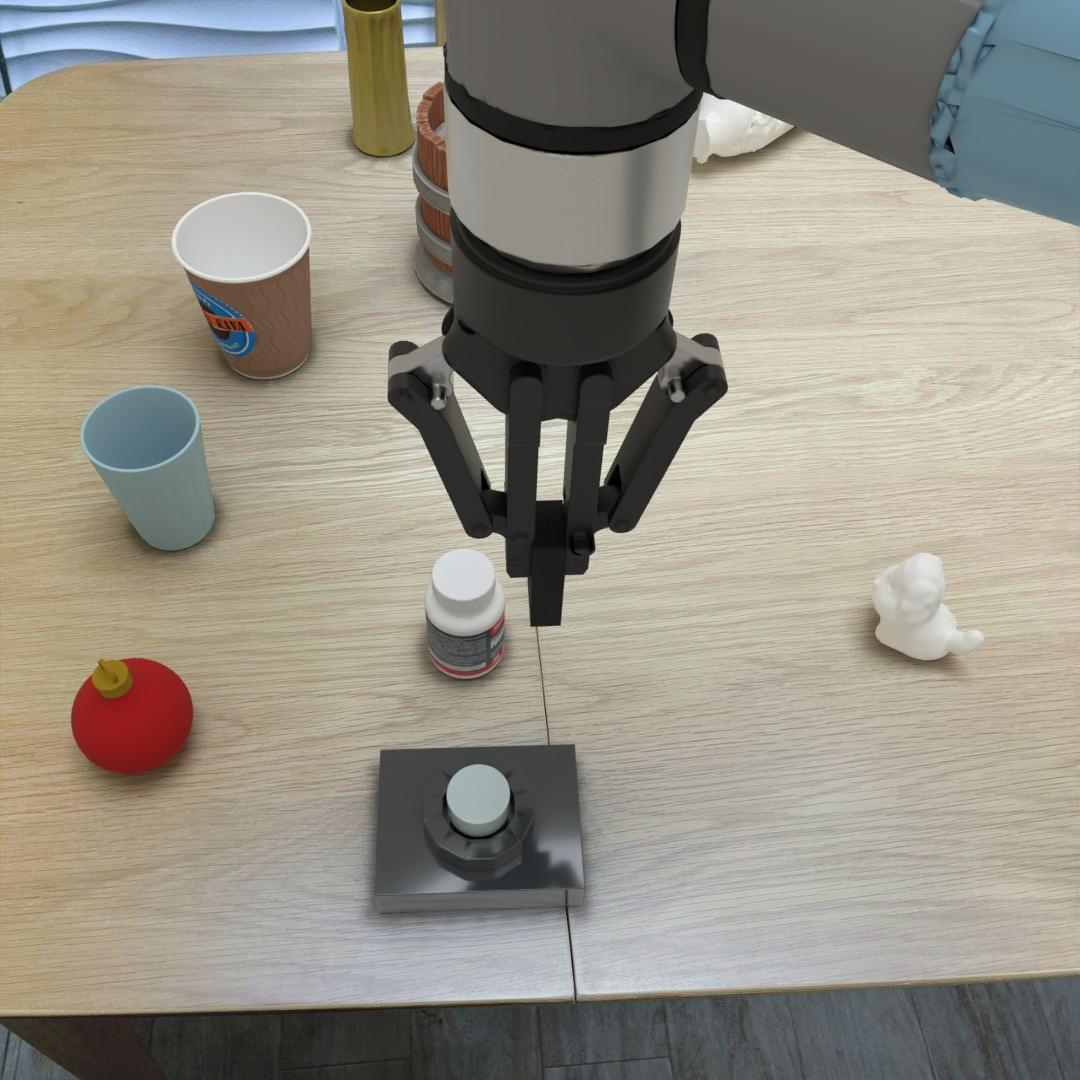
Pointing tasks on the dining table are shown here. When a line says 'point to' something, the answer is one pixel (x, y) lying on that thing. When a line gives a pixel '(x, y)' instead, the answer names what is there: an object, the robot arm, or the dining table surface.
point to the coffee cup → (251, 278)
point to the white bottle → (733, 129)
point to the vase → (377, 76)
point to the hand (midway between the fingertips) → (543, 602)
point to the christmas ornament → (131, 715)
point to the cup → (153, 463)
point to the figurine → (919, 611)
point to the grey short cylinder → (478, 800)
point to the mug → (432, 196)
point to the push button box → (478, 862)
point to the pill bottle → (465, 614)
